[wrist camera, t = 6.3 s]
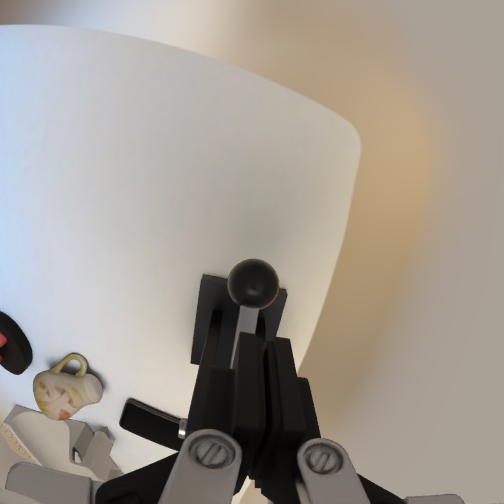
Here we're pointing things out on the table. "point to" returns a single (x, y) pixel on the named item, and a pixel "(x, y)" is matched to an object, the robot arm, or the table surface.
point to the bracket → (220, 339)
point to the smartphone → (151, 425)
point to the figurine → (13, 346)
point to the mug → (65, 390)
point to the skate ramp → (63, 444)
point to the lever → (251, 293)
